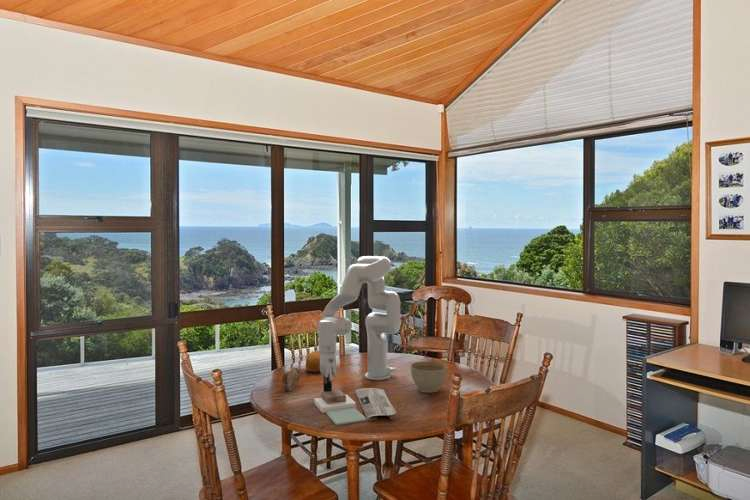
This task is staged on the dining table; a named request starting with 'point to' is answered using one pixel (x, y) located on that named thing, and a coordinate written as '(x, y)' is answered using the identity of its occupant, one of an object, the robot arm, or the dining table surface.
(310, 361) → the bread
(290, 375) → the tin
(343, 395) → the walnut tile
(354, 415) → the mat
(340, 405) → the white flat block
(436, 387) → the planter bowl
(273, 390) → the dining table surface
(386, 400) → the newspaper
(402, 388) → the dining table surface
